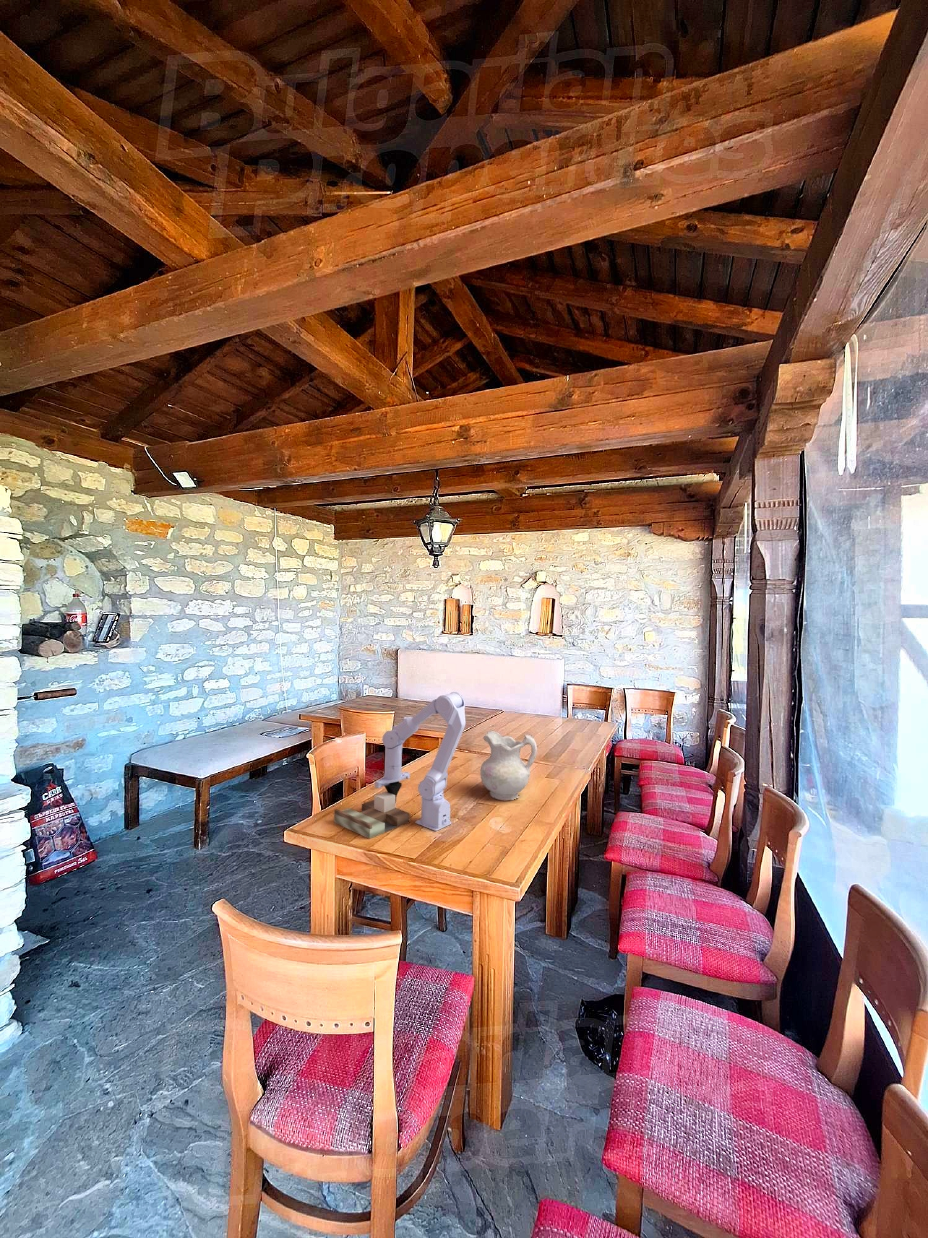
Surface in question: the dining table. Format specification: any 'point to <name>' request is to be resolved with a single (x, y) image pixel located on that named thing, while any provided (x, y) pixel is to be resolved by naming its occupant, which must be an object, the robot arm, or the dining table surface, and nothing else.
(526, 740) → the ceramic pitcher
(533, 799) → the dining table surface
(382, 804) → the cream block
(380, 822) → the box
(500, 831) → the dining table surface
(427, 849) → the dining table surface
